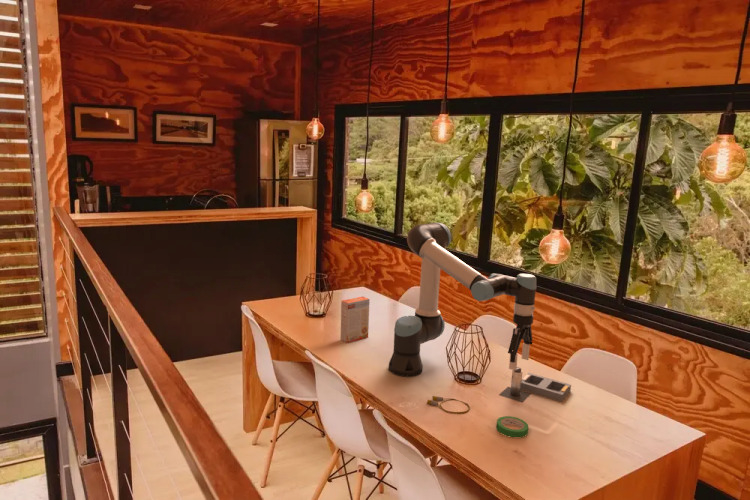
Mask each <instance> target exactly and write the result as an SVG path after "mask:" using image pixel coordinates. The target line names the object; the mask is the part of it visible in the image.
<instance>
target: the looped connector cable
mask: <svg viewBox="0 0 750 500" xmlns="http://www.w3.org/2000/svg"><path fill="white" fill-rule="evenodd" d="M440 401H442V402H440ZM449 401H456V402H460V403H462V404H463V405H465V406H467V408H468V409H467V410H465V411H463V410H462V411H449V410H446V409H444V407H443V406H442V404H443V403H445V402H449ZM439 402H440V403H439ZM426 405H430V406H436V407H437V406H438V408H439V409H440V410H441V409H442V411H444V412H445V411H446V413H448V412H449V414H454V413H455V414H456V413H457V415H459V414H460V415H461V413H462V414H465V413H467V412H469V411H470V405H469V404H468V403H467V402H464V401H462V400H458V399H456V398H449V399H447V397H446V398H444V396H443V397H442V396H434V395H432V398H431V400H430V399H427V401H426Z"/></svg>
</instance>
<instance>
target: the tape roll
mask: <svg viewBox="0 0 750 500" xmlns="http://www.w3.org/2000/svg"><path fill="white" fill-rule="evenodd" d="M504 424H505V425H504ZM512 424H514V425H513V426H516V425H517V427H518V428H515V429H514V428H510V427H508V426H506V425H512ZM520 427H521V428H520ZM495 428H497V429H496V431H497V432H498V431H499V433H500V434H501V433H502V434H501V435H503V434H504V435H503V436H505V435H506V436H505V437H508V436H510V437H509V438H513V437H521V438H524V437H526V436H527V435H528V433H529V424H528V423H527V422H526V421H525V420H523V419H521V418H519V417H515V416H510V415H508V416H501V417H498V418H497V420H496V427H495ZM525 435H526V436H525ZM523 436H524V437H523Z"/></svg>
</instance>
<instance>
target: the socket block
mask: <svg viewBox="0 0 750 500" xmlns="http://www.w3.org/2000/svg"><path fill="white" fill-rule="evenodd" d="M571 389H572V384H571V383H566V382H563V381H559V380H557V379H552V378H549V377H545V376H543V375H542V376H541V375H538V374H534V373H531V372H528V373H527V374H526V375H524V377H522V382H521V391H524V392H527V393H531V394H535V395H538V396H541V397H545V398H547V399H551V400H554V401H557V402H560V403H561V402H563V400H565V398H566V397H567V396H568V395H570V394H569V393H570V392H571Z"/></svg>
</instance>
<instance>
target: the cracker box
mask: <svg viewBox="0 0 750 500" xmlns="http://www.w3.org/2000/svg"><path fill="white" fill-rule="evenodd" d="M340 301H341V302H340V303H341V304H340V306H341V307H340V341H341V342H344V343H346V344H349V343H353V342H357V341H360V340H364V339H367V338H369V326H370V325H369V323H370V298H369V297H365V296H359V297H354V298H347V299H344V300H340Z"/></svg>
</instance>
